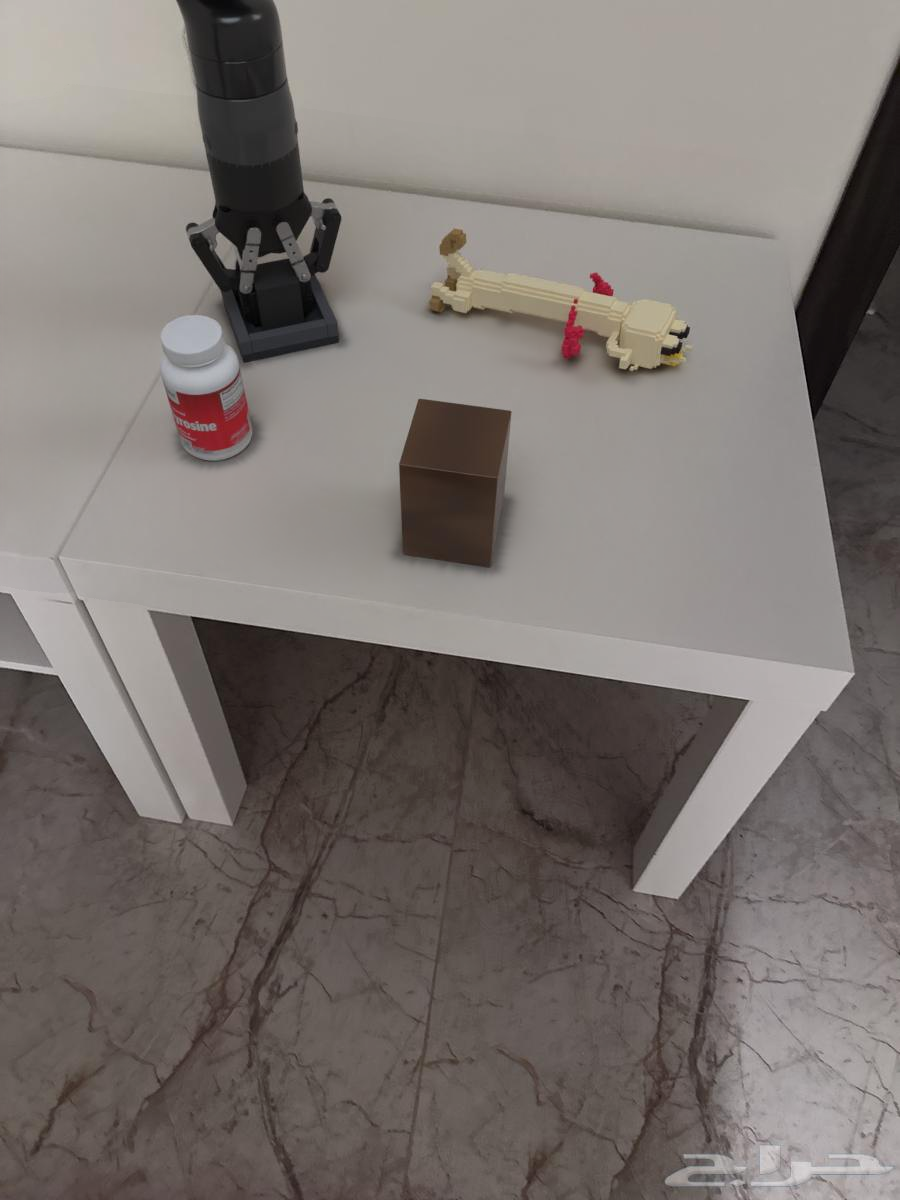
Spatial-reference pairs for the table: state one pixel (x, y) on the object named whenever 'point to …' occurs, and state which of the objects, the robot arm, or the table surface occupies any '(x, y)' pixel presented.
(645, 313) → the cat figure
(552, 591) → the table surface
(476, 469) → the riser
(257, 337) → the dark open tray
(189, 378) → the pill bottle
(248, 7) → the robot arm
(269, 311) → the black block
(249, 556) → the table surface
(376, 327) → the table surface
